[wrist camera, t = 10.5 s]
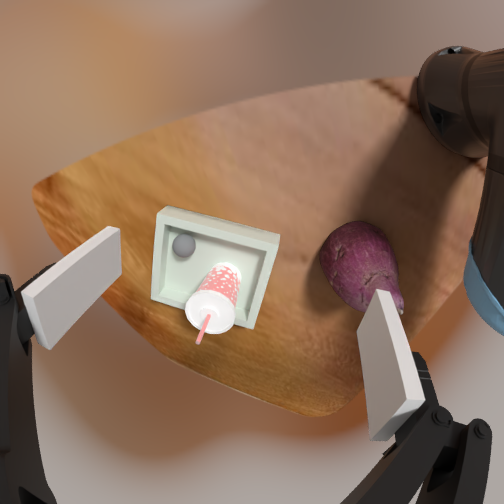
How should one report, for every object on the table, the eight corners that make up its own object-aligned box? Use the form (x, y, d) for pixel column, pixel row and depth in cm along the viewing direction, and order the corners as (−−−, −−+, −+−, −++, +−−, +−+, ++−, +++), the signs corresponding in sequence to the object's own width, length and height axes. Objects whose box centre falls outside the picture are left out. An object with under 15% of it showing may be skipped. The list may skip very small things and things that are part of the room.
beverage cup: (214, 250, 41) (179, 310, 29) (254, 269, 42) (235, 337, 29) (198, 282, 44) (164, 346, 32) (235, 301, 45) (213, 370, 32)
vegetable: (386, 218, 40) (454, 251, 26) (375, 285, 44) (431, 336, 29) (319, 216, 39) (374, 252, 25) (312, 288, 42) (355, 350, 28)
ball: (200, 233, 41) (193, 243, 38) (197, 253, 42) (190, 264, 39) (178, 227, 41) (169, 236, 38) (176, 247, 42) (167, 258, 39)
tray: (280, 234, 40) (278, 245, 37) (255, 314, 46) (253, 329, 43) (167, 205, 40) (157, 213, 37) (159, 287, 47) (150, 299, 44)
